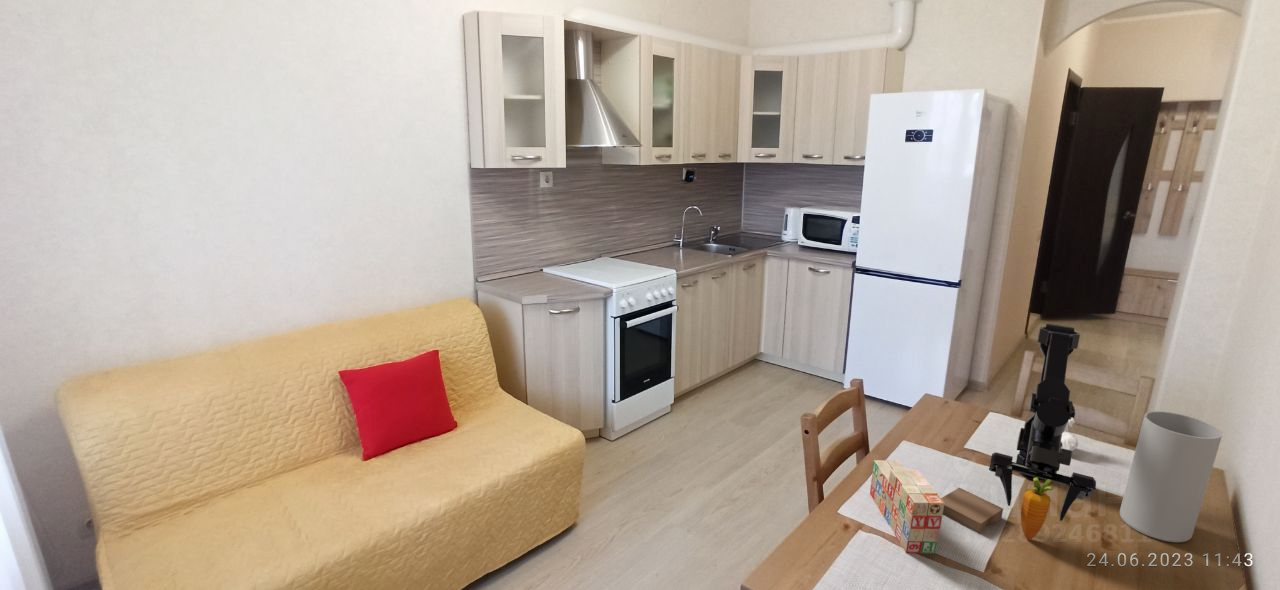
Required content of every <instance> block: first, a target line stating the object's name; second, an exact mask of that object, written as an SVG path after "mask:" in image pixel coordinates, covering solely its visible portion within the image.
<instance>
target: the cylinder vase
mask: <svg viewBox="0 0 1280 590" xmlns="http://www.w3.org/2000/svg"><path fill="white" fill-rule="evenodd" d="M1222 436H1223V432H1222V430H1220V429H1219V428H1217V427H1216V426H1214V425H1213V424H1210V423H1208V422H1205V421H1203V420H1201V419H1198V418H1195V417H1191V416H1188V415H1185V414H1180V413H1175V412H1169V411H1159V410H1157V411H1156V410H1155V411H1148V412H1145V413H1144V415H1143V418H1142V422H1141V428H1140V431H1139V435H1138V439H1137V442H1136V443H1137V444H1136V447H1135V451H1134V454H1133V459H1132V462H1131V466H1130V471H1129V473H1128V477H1127V482H1126V485H1125V488H1124V494H1123V498H1122V501H1121V503H1120V504H1121V506H1120V508H1119V515H1120V517H1121V519H1122V521H1123V522H1124V523H1126V524H1127V526H1129V527H1130V528H1133V530H1135V531H1137V532H1139V533H1140V534H1143V535H1145V536H1148V537H1149V538H1153V539H1155V540H1156V539H1157V540H1160V541H1164V542H1169V543H1185V542H1187V541H1189V540H1191V538H1192V537H1193V535H1194V531H1195V527H1196V524H1197V521H1198V518H1199V515H1200V511H1201V507H1202V504H1203V501H1204V498H1205V494H1206V491H1207V488H1208V484H1209V481H1210V477H1211V474H1212V471H1213V467H1214V464H1215V460H1216V457H1217V454H1218V450H1219V447H1220V444H1221V441H1222V438H1223V437H1222Z"/></svg>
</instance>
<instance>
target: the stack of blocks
mask: <svg viewBox="0 0 1280 590" xmlns="http://www.w3.org/2000/svg"><path fill="white" fill-rule="evenodd" d="M872 461H873V463H872V471H871V472H872V473H871V482H870V483H871V484H870V490H869V495H870V496H871V498H872V500H873V502H874V503H875V505H876V506H877V508H878V510H879V511H880V513H881V515H882V517H883V518H884V519H885V521H886V522H887V524H888V526H889V527H890V528H891V530H892V532H893V534H894V536H895V537H896V539H897V541H898V543H899V544H900V546H901V548H902V549H903V551H904V552H905V554H936V552H937V551H936V550H937V545H938V540H939V534H940V528H941V527H942V526H941V525H942V521H943V520H942V519H943V509H944V504H945V503H944V502H943V501H942V500H941V498H942V497H940V495H938V492H937V491H936V490H935V489H934V487H933V486H932V485H931V484H930V483H929V482H928V481H927V479H926V477H924V476H923V475H922V473H920V471H919V470H918V469H906V467H904V465H903V464H902V463H901V461H900V460H887V459H886V460H881V459H879V460H876V459H875V460H872Z"/></svg>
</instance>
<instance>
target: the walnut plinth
mask: <svg viewBox="0 0 1280 590" xmlns="http://www.w3.org/2000/svg"><path fill="white" fill-rule="evenodd" d="M940 498H941V500H942V501H943V502H944V503H945V504H944V509H943V514H942V516H944V517H947V518H948V519H950V520H952V521H954V522H956V523H958V524H960V525H961V526H964V527H966V528H967V529H969V530H971V531H973V532H975V533H977V534H978V535H979V534H981V533H982V532H984V531H985V530H987V529H988V528H989V527H991V526H992V525H994V524H995V523H996V522H998V521H999V520H1002V517H1003V512H1004V507H1001V506H999V505H997V504H994V503H993V502H991V501H988V500H987V499H984V498H982V497H980V496H978V495H976V494H973V492H970V491H967V490H965V489H963V488H961V487H958V488H956V489H954V490H953V491H950V492H949V493H947V494H946V495H944V496H942V497H940Z"/></svg>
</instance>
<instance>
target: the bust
mask: <svg viewBox="0 0 1280 590" xmlns="http://www.w3.org/2000/svg"><path fill="white" fill-rule="evenodd" d="M1075 423H1076V421H1075V417H1074V418H1071V420H1068V423H1067V425H1066V427H1065V430H1064V432H1063V433H1062V438H1061V442H1062V447H1061V449H1067V450H1071V451H1072V452H1073V451H1074V450H1075V449H1076V448H1078V447H1079V441H1078V438H1077V437H1076V435H1075V434H1074V433H1072V432H1070V431H1069V427H1071V428H1072V427H1073V425H1074V424H1075Z"/></svg>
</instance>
